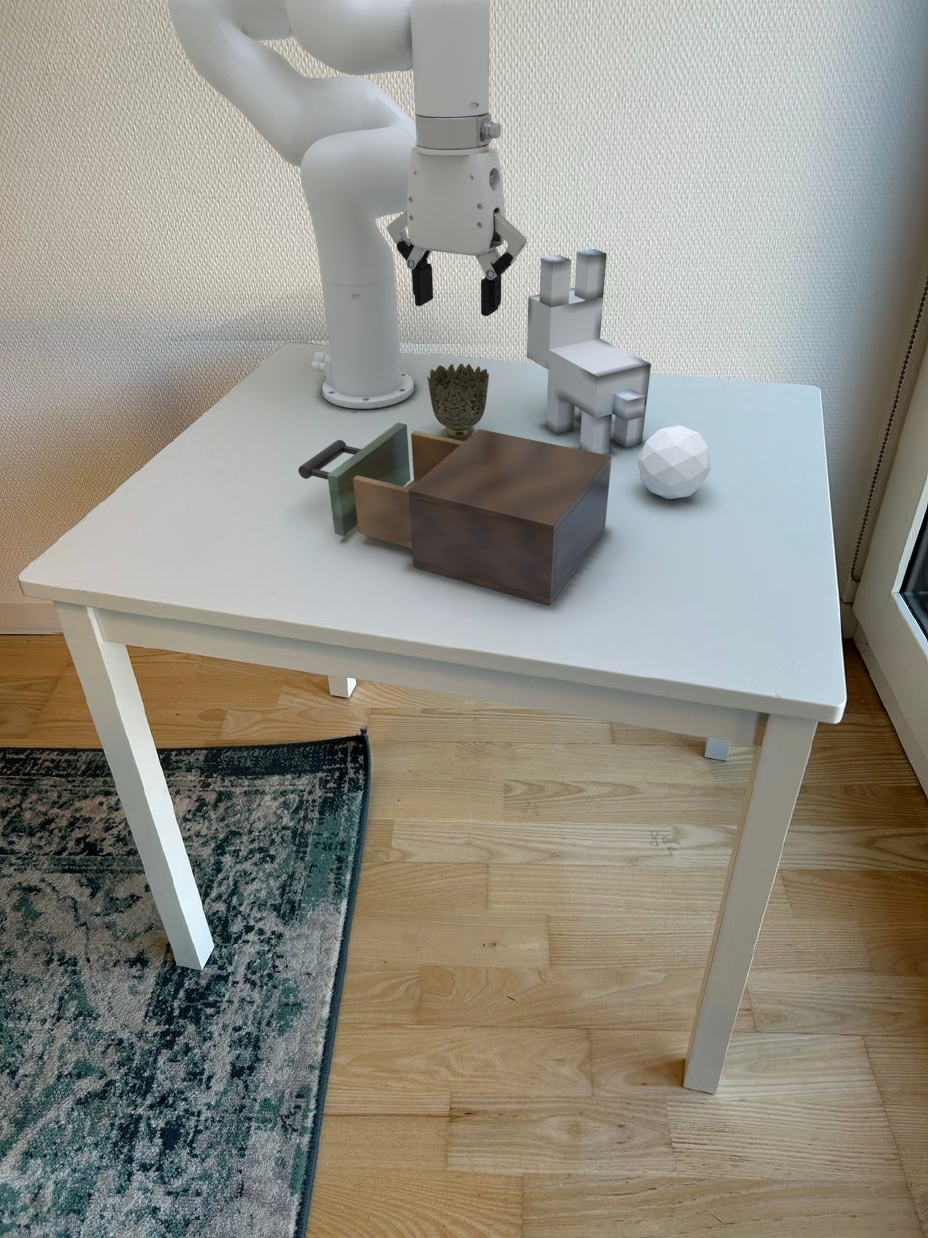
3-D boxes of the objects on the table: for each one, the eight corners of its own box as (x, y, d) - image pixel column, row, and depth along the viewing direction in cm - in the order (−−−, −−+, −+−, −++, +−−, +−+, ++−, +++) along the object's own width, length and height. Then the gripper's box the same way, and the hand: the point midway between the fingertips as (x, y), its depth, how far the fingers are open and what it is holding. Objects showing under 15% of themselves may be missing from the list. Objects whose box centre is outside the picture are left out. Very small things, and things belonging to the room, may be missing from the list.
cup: (482, 450, 105) (482, 387, 100) (424, 446, 106) (421, 383, 101) (493, 425, 111) (493, 364, 106) (437, 421, 112) (435, 360, 107)
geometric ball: (647, 511, 98) (619, 447, 97) (712, 481, 97) (684, 415, 96) (663, 512, 90) (632, 442, 89) (733, 479, 90) (703, 408, 89)
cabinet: (412, 567, 85) (407, 489, 80) (479, 500, 95) (478, 428, 90) (549, 605, 79) (554, 525, 74) (604, 531, 89) (612, 455, 84)
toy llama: (604, 465, 101) (619, 290, 89) (525, 412, 113) (529, 252, 101) (654, 451, 104) (676, 279, 92) (572, 401, 116) (582, 244, 104)
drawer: (285, 520, 91) (275, 461, 86) (355, 467, 100) (349, 411, 96) (450, 566, 83) (448, 504, 79) (509, 503, 93) (510, 445, 88)
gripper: (545, 132, 87) (539, 308, 98) (398, 124, 94) (407, 289, 105) (514, 144, 82) (511, 328, 93) (361, 134, 89) (374, 307, 99)
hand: (456, 306), depth 99 cm, fingers open, 8 cm apart
